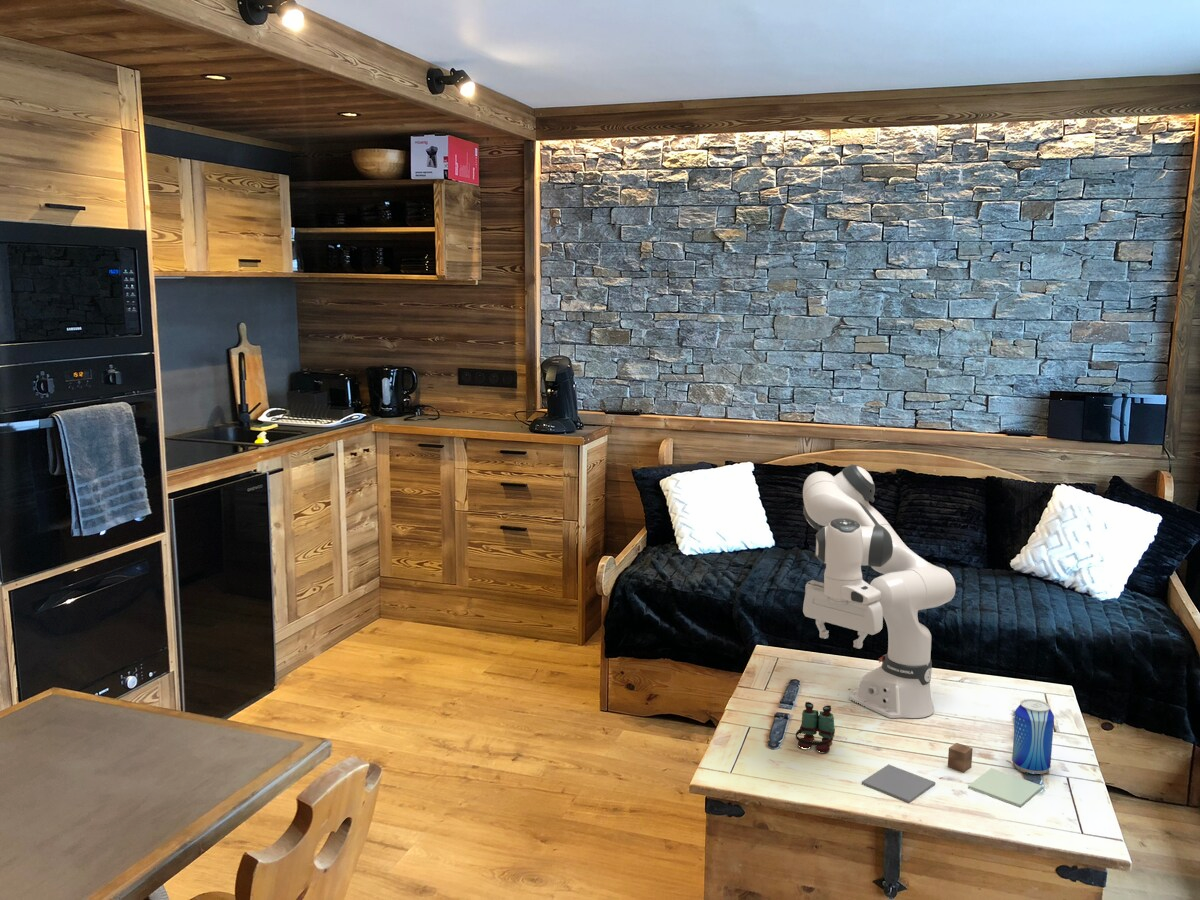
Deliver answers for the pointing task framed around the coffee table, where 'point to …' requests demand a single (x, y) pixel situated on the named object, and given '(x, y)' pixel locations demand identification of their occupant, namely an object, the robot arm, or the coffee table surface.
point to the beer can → (1033, 736)
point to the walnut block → (960, 757)
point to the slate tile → (898, 783)
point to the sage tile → (1005, 787)
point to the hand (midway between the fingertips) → (840, 642)
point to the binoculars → (816, 727)
